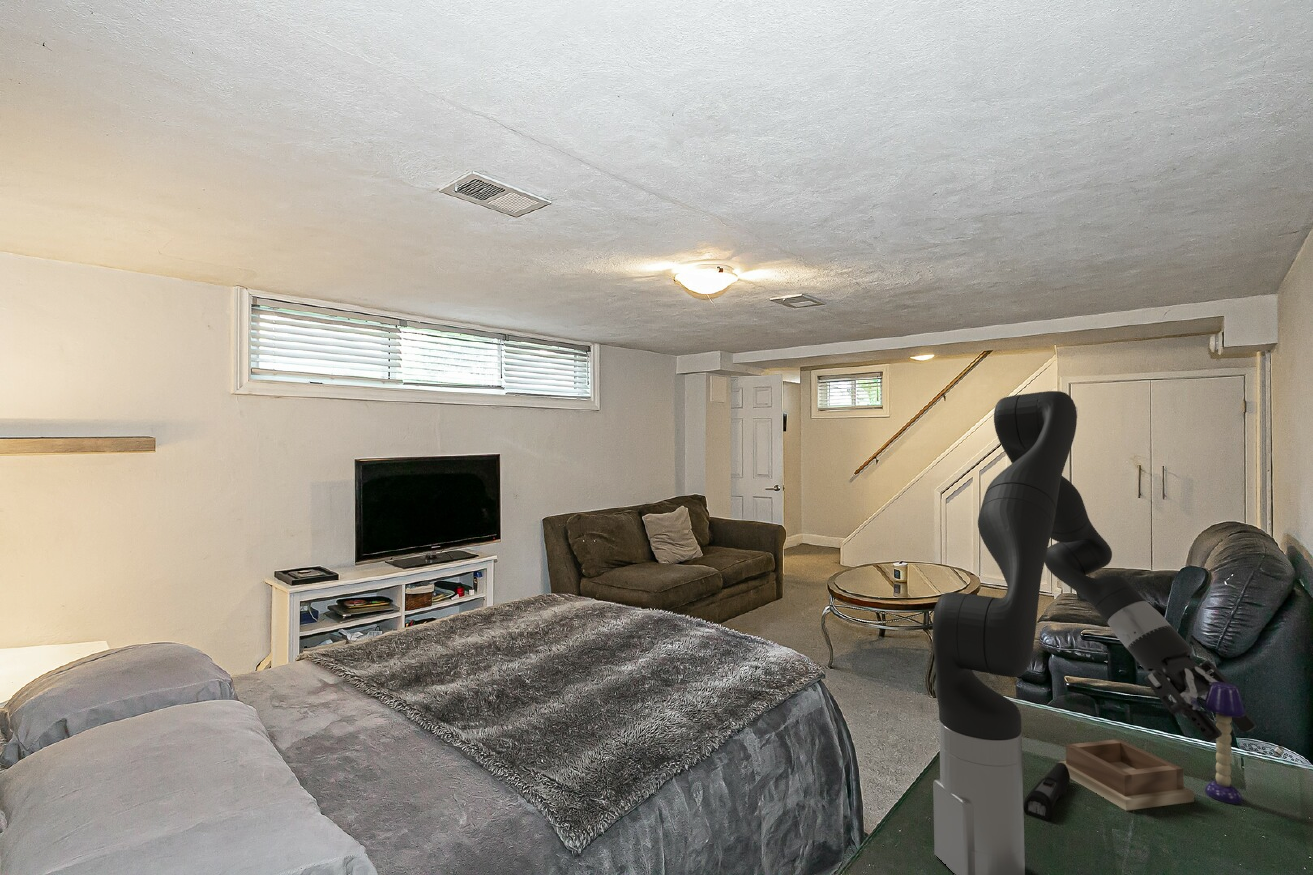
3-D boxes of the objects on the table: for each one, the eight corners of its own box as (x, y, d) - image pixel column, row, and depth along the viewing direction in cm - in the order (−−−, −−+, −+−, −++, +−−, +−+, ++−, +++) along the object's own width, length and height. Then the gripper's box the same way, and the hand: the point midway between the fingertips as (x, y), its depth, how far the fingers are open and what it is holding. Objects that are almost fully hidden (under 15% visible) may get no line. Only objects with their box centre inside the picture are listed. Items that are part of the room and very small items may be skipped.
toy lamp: (1231, 790, 98) (1227, 679, 98) (1257, 806, 93) (1252, 690, 94) (1197, 788, 98) (1194, 678, 99) (1221, 804, 94) (1217, 688, 94)
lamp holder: (1125, 810, 92) (1125, 778, 92) (1058, 771, 104) (1057, 742, 104) (1193, 801, 94) (1192, 770, 95) (1120, 764, 106) (1119, 736, 106)
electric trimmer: (1077, 786, 100) (1076, 765, 100) (1051, 824, 89) (1050, 801, 89) (1049, 777, 103) (1049, 757, 103) (1021, 814, 92) (1020, 791, 92)
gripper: (1136, 628, 101) (1225, 730, 90) (1192, 619, 106) (1283, 715, 95) (1103, 652, 106) (1184, 752, 95) (1158, 643, 111) (1241, 737, 100)
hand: (1233, 733), depth 95 cm, fingers open, 8 cm apart
